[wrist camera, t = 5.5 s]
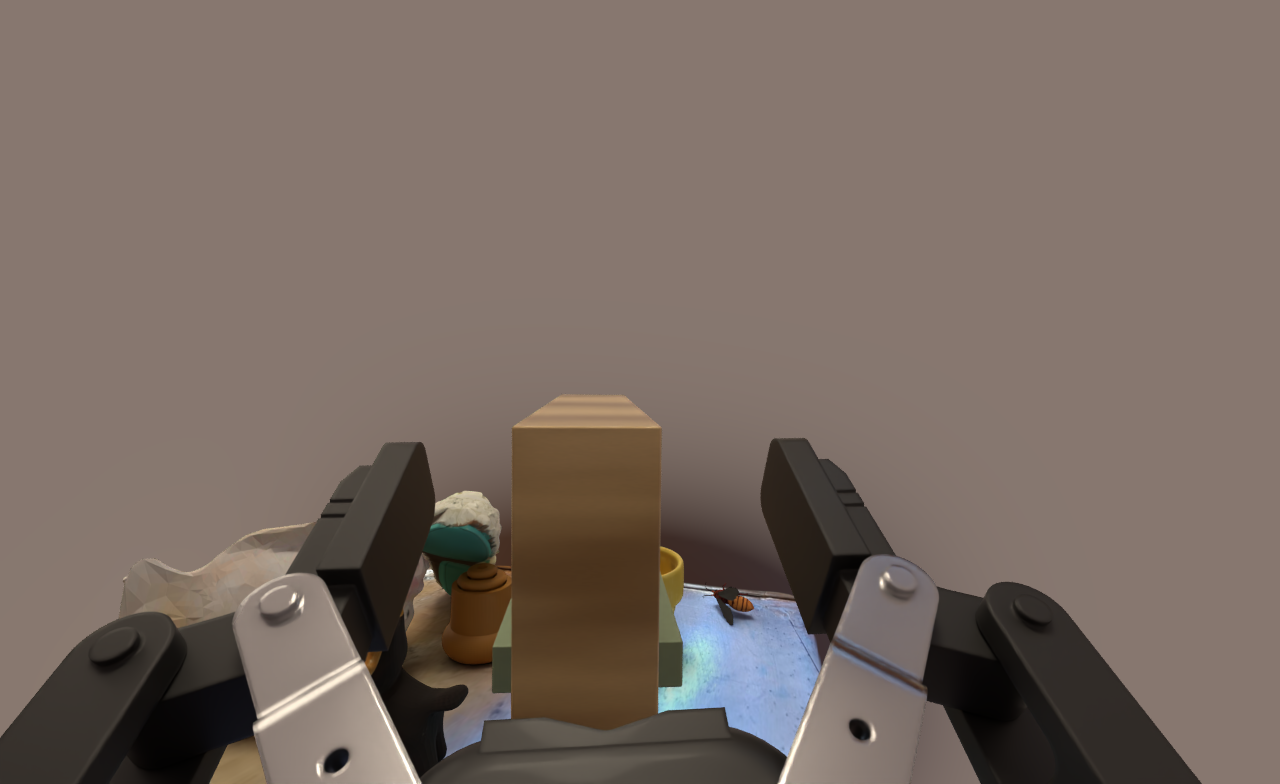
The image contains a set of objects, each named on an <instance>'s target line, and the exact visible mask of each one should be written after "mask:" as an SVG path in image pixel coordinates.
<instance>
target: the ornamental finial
mask: <svg viewBox="0 0 1280 784" xmlns="http://www.w3.org/2000/svg"><path fill="white" fill-rule="evenodd" d="M511 586H512V578H511V577H510V576H508V575H506V573H505V572H504V571H503V570H500V569H497V567H496V566H495V565H493V564H490V563H481V564H476V565H473V566H471V567H470V568H469V569H468V571H466V572H464V573H463V574H461V575H460V576H459V578H458V579H457V580H456V581H454V582H453V584H452V593H451V616H450V623H449V624H448V625H447V627H446V628H445V630H444V632H443V636H442V646H443V649H444V651H445V653H446V654H447V655H448V656H449V657H450V658H451V659H453V660H455V661H457V662H460V663H464V664H484V663H489V662H492V647H493V645H494V642H495V639H496V637H497V634H498V631H499V629H500V626H501V623H502V621H503V618H504V615H505V613H506V610H507V607H508V605H509V602H510V600H511Z"/></svg>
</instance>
